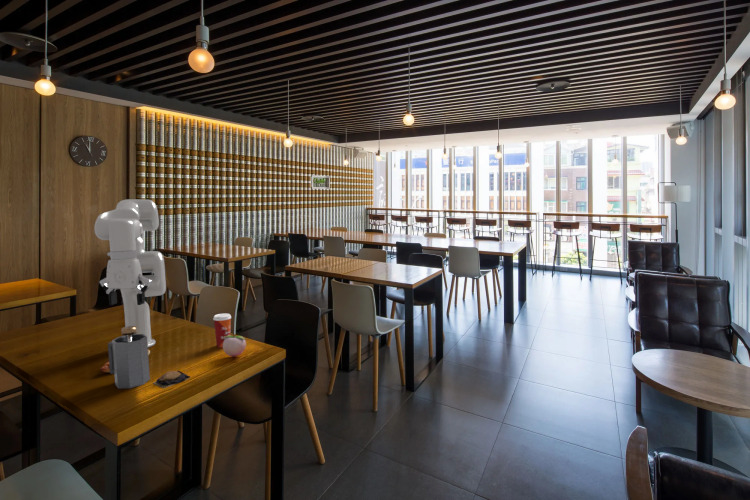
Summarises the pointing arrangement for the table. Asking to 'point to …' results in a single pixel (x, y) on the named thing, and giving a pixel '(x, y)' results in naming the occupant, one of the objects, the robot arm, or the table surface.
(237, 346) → the decorative fruit
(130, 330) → the plunger
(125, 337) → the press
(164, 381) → the abalone
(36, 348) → the table surface
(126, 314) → the robot arm
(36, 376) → the table surface
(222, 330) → the paper cup
